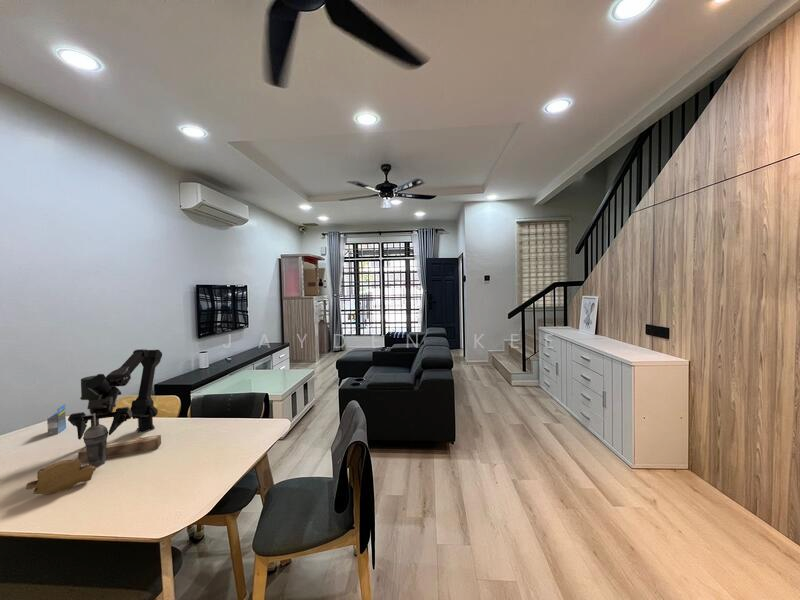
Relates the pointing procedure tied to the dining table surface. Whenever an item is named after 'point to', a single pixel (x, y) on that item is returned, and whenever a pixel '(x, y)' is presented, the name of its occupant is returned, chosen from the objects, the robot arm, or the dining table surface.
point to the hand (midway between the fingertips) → (94, 436)
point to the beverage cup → (96, 443)
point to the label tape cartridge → (57, 421)
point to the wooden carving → (61, 476)
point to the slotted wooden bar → (126, 447)
